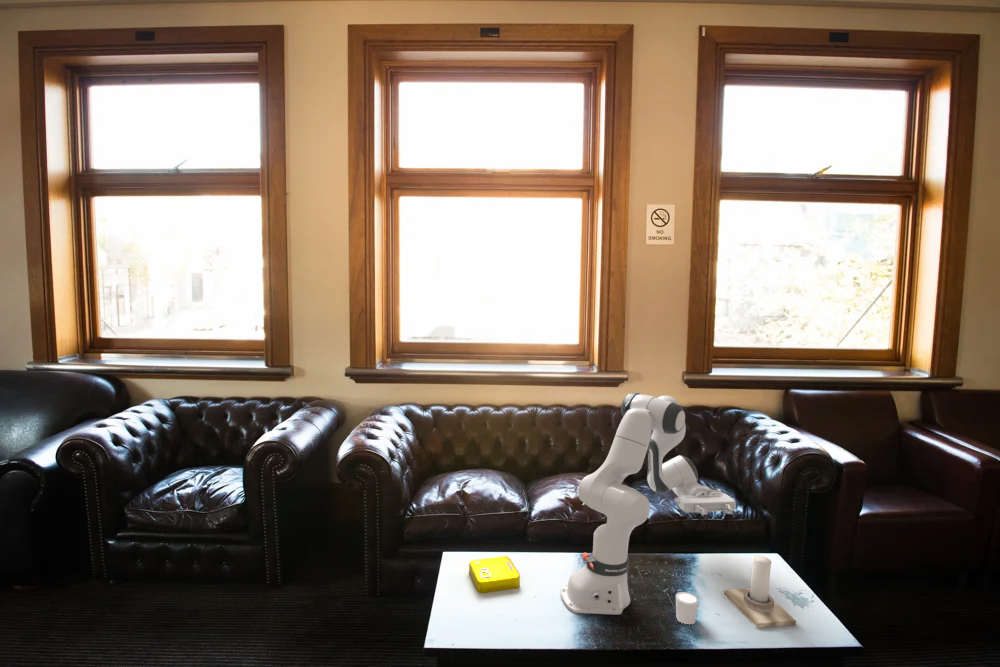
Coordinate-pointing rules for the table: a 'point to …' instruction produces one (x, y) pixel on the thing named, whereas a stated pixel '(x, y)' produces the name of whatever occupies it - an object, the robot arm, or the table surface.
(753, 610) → the roll holder
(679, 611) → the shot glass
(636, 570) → the table surface
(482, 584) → the element tile
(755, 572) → the paper roll
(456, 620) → the table surface
